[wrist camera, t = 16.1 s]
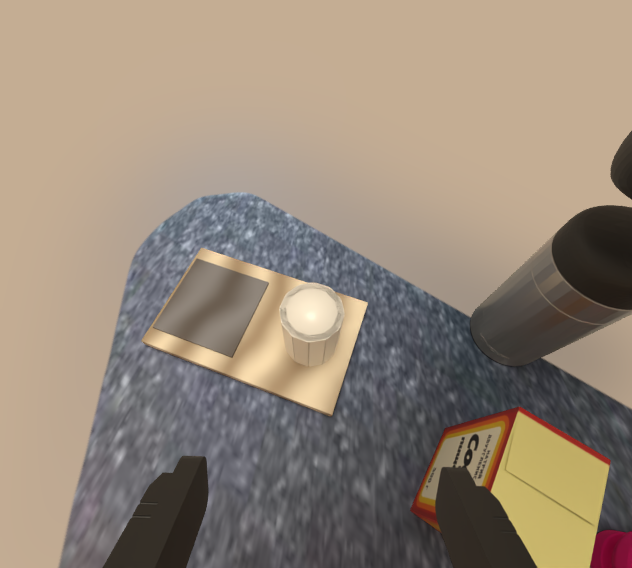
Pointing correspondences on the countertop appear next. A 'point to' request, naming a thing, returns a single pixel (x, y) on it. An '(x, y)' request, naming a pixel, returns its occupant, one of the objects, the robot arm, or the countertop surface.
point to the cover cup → (311, 323)
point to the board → (248, 330)
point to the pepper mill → (612, 550)
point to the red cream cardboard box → (527, 482)
